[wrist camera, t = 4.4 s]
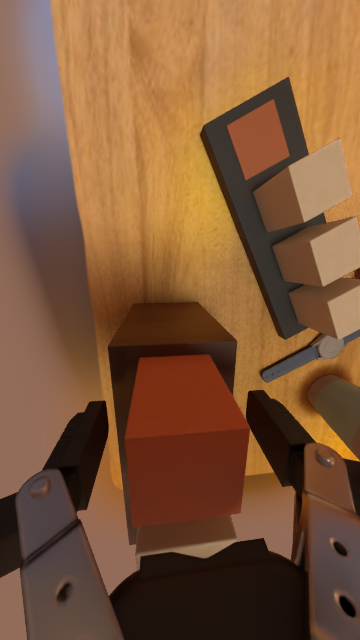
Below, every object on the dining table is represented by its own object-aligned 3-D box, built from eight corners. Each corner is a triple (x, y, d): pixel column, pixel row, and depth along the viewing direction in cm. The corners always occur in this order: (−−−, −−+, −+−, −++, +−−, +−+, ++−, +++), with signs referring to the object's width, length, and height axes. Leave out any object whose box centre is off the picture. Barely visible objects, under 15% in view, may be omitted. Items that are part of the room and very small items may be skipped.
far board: (278, 335, 28) (320, 361, 21) (200, 134, 21) (222, 66, 13) (338, 304, 27) (402, 319, 20) (279, 89, 20) (346, -6, 13)
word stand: (195, 421, 30) (253, 660, 12) (141, 425, 29) (114, 690, 11) (198, 302, 25) (302, 404, 7) (132, 303, 24) (62, 423, 6)
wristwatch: (391, 323, 29) (399, 325, 28) (266, 387, 30) (269, 391, 29) (386, 297, 28) (394, 298, 27) (255, 364, 28) (259, 368, 28)
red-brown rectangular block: (206, 411, 14) (241, 514, 8) (142, 416, 14) (132, 529, 8) (209, 353, 13) (251, 427, 7) (139, 357, 12) (123, 438, 7)
